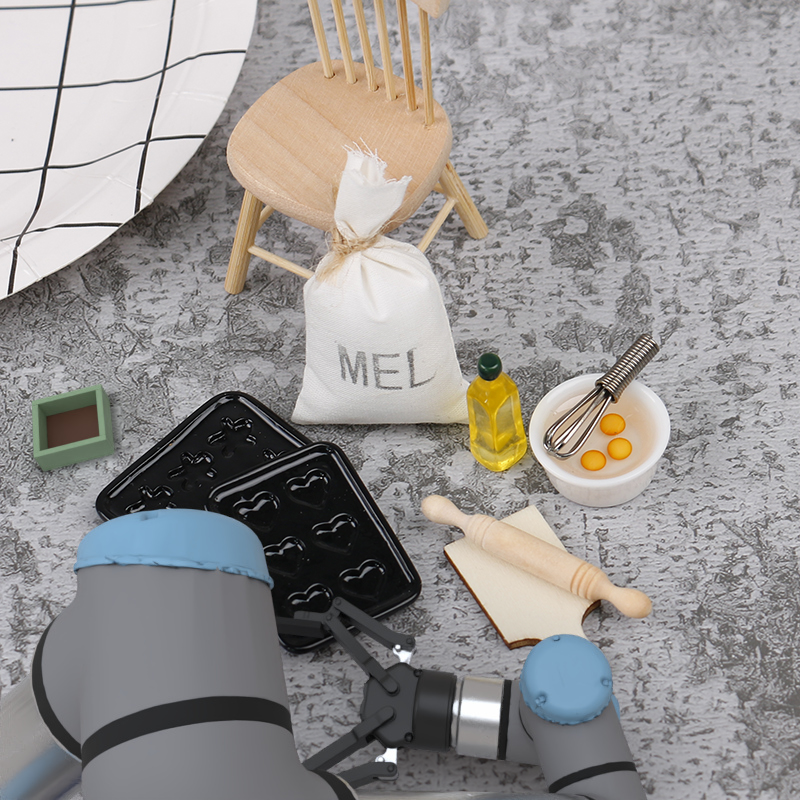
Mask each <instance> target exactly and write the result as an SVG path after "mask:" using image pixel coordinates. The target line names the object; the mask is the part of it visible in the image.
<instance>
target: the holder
mask: <svg viewBox="0 0 800 800" xmlns="http://www.w3.org/2000/svg"><path fill="white" fill-rule="evenodd" d="M31 417H32V418H31V419H32V422H31V423H32V445H33V446H32V448H33V449H32V450H33V459H34V460H35V462H36V463H37V464H38V466H39V467H40V468H41V470H42V471H43V472H48V471H52V470H56V469H60V468H64V467H68V466H71V465H75V464H79V463H83V462H88V461H91V460H95V459H99V458H102V457H103V458H104V457H107V456H111V455H114V454H115V444H114V432H113V422H112V421H113V420H112V412H111V401H110V398H109V396H108V393H107V391H106V390H105V388H104V387H103V384H102V383H99V384H95V385H91V386H87V387H83V388H79V389H75V390H71V391H66V392H62V393H58V394H54V395H51V396H46V397H42V398H38V399H34V400H32V401H31Z"/></svg>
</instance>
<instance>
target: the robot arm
mask: <svg viewBox="0 0 800 800" xmlns="http://www.w3.org/2000/svg"><path fill="white" fill-rule="evenodd" d="M72 567H73V569H72V570H73V573H74V574H75V575H76V592H75V596H74V599H73V600H72V601H71V602H70V603H69V604H68V605H67V606H65V608H64V609H63V610H62V611H61V612H60V613H59V614H57V615H56V616H55V617H54V619H52V620H51V621H50V622H49V624H48V625H47V626H46V628H45V629H44V630H43V632H42V633H41V635H40V636H39V638H38V640H37V642H36V645H35V647H34V650H33V652H32V656H31V660H30V668H29V673H28V674H27V675H26V676H25V677H24V678H22V679H21V680H20V681H19V682H18V683H17V684H16V685H15V686H14V687H13V688H12V689H10V690H9V691H8V692H7V693H6V694H5V695H4V696H3V697H1V699H0V800H72V799H73V798H74V797H75V796H77V795H78V794H80V793H81V796H82V800H649V799H648V797H647V794H646V791H645V789H644V786H643V783H642V780H641V777H640V775H639V772H638V770H637V766H636V763H635V761H634V758H633V755H632V752H631V750H630V749H631V748H630V746H629V744H628V740H627V738H626V734H625V733H624V728H623V726H622V723H621V707H620V706H621V705H620V702H619V701H620V700H618V699H617V697H616V695H615V694H613V692H614V680H613V672H612V668H611V665H610V663H609V660H608V659H607V657H606V655H605V653H604V652H603V651H602V650H601V649H600V648H599V647H598V646H597V645H596V644H595V643H594V642H592V641H591V640H589V639H587V638H585V637H582V636H580V635H577V634H571V633H560V634H553V635H551V636H547V637H546V638H543V639H542V640H541V641H539V642H538V643H537V644H535V645H534V646H533V647H532V648H531V650H530V651H529V653H528V654H527V656H526V659H525V661H524V664H523V666H522V669H521V670H520V672H521V673H520V675H519V679H520V680H516V679H514V680H513V679H507V678H499V677H498V678H497V677H491V676H483V675H476V674H467V673H465V674H464V676H462V678H461V679H458V676H457V675H456V674H455V672H450V671H443V670H436V669H435V670H434V669H426V668H416V667H413V666H412V660H413V656H414V655H416V653H417V652H418V651H417V650H418V649H417V642H416V638H415V637H414V636H412V635H409V634H405V633H399V632H398V631H397V632H396V631H394V630H392V628H390V627H388V626H386V625H385V624H383V623H382V622H380V621H378V620H377V619H376V618H374V617H372V616H371V615H370V614H368V613H366V612H364V611H363V610H362V609H360V608H358V607H357V606H355V605H354V604H352V603H350V601H348V600H346V599H344V598H343V597H342V596H336V597H335V598H333V599H332V603H331V606H330V607H329V609H328V610H327V611H326V612H315V611H307V610H306V611H305V610H297V611H294V614H293V617H284V616H276V615H275V610H274V609H275V608H274V602H273V597H272V591H271V590H272V589H273V588H274V586H275V584H274V579H273V578H272V577H271V575H270V573H269V568H268V566H267V561H266V556H265V551H264V547H263V544H262V542H261V540H260V539H259V537H258V535H257V534H256V533H255V532H254V531H253V530H252V529H251V528H250V527H249V526H248V525H246V524H244V523H243V522H241V521H239V520H237V519H235V518H233V517H229V516H227V515H224V514H221V513H217V512H213V511H208V510H203V509H202V510H201V509H192V508H160V509H154V510H144V511H137V512H132V513H129V514H125V515H121V516H118V517H115V518H111V519H110V520H106V521H105V522H102V523H101V524H99V525H98V526H96V527H94V528H92V529H91V530H90V531H88V533H86V534H85V535H84V537H82V539H81V541H80V542H79V544H78V547H77V550H76V561H75V562H74V564H73V566H72ZM341 620H343V621H345V622H346V623H348V624H349V625H351V626H353V627H354V628H356V629H357V630H358V631H360V632H361V633H363V634H365V635H366V636H368V637H369V638H371V639H372V640H373V641H375V642H376V643H378V644H380V645H382V646H384V647H385V648H386V649H387V650H390V651H392V654H393V656H394V657H395V658H396V659H398V660H399V662H396V663H394V664H392V665H390V666H389V667H387V668H384V667H383V666H382V665H381V663H379V661H378V660H377V659H376V658H375V657H374V656H372V654H370V653H369V651H368V650H366V648H365V647H364V646H363V645H362V644H361V643H360V641H358V639H357V638H355V636H354V635H353V634H352V632H350V631H349V629H348V628H347V627H346V626H345V625H344V624H343V623H342V622H341ZM326 631H327V633H329V634H330V635H331V636H332V637H333V638H334V640H335V641H336V642H337V643H338V644H339V645H340V646H341V647H342V649H343V650H344V651H345V652H346V653H347V654H348V656H350V658H352V660H353V661H355V663H356V664H357V665H358V666H359V668H360V669H361V670H362V671H363V672H364V673H365V675H366V676H367V678H368V679H367V680H366V682H364V683H363V689H362V692H363V693H362V694H363V700H362V702H361V704H360V706H359V711H358V715H359V719H360V723H358V724H357V725H355V726H353V728H351V730H350V731H349V732H347V733H345V734H344V735H343V736H341V737H339V738H337V739H336V740H335V741H333V742H332V743H330V744H329V745H327V746H326V747H324V748H323V749H320V750H319V751H317V752H316V753H315V754H313V755H312V756H310V757H308V758H307V759H305V760H304V761H301V759H300V756H299V753H298V750H297V747H296V741H295V736H294V735H295V734H294V730H293V723H292V713H291V708H290V701H289V695H288V690H287V683H286V676H285V670H284V665H283V658H282V651H281V647H280V646H281V645H280V640H279V634H283V635H292V636H301V637H310V638H316V639H317V638H318V639H324V638H325V633H326ZM375 741H377V742H378V744H380V745H381V746H382V747H383V748H384V749H385V752H384V753H383V754H380V755H378V756H376V758H375V760H374V761H371V762H366V763H363V764H360V765H358V766H355V767H352V768H350V769H347V770H343V771H341V772H338V773H334V772H332V771H329V770H330V769H332V768H333V767H334V766H336V765H337V764H339V763H341V762H342V761H344V760H345V759H347V758H348V757H349V756H351V755H353V754H354V753H356V752H357V751H359V750H362V749H364V748H366V747H368V746H369V745H370V744H373V743H374V742H375ZM451 748H454V749H455V752H456V754H457V755H458V756H464V757H473V758H478V759H479V758H480V759H488V760H493V761H494V760H495V761H496V760H499V761H506V762H513V763H520V764H527V765H533V766H539V767H541V770H542V773H543V776H544V777H543V778H544V780H545V783H546V786H547V791H548V792H509V791H507V792H506V791H465V790H464V791H459V790H457V791H456V790H415V789H413V790H411V789H369V788H368V789H366V788H365V789H362V788H360V787H365V786H366V785H369V784H371V783H372V784H373V783H374V782H385V783H386V782H388V783H389V782H391V783H393V782H396V781H398V779H399V777H400V772H399V768H398V757H399V756H398V753H399V751H400V750H403V749H412V750H418V751H426V752H434V753H442V754H447V752H450V751H451Z"/></svg>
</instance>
